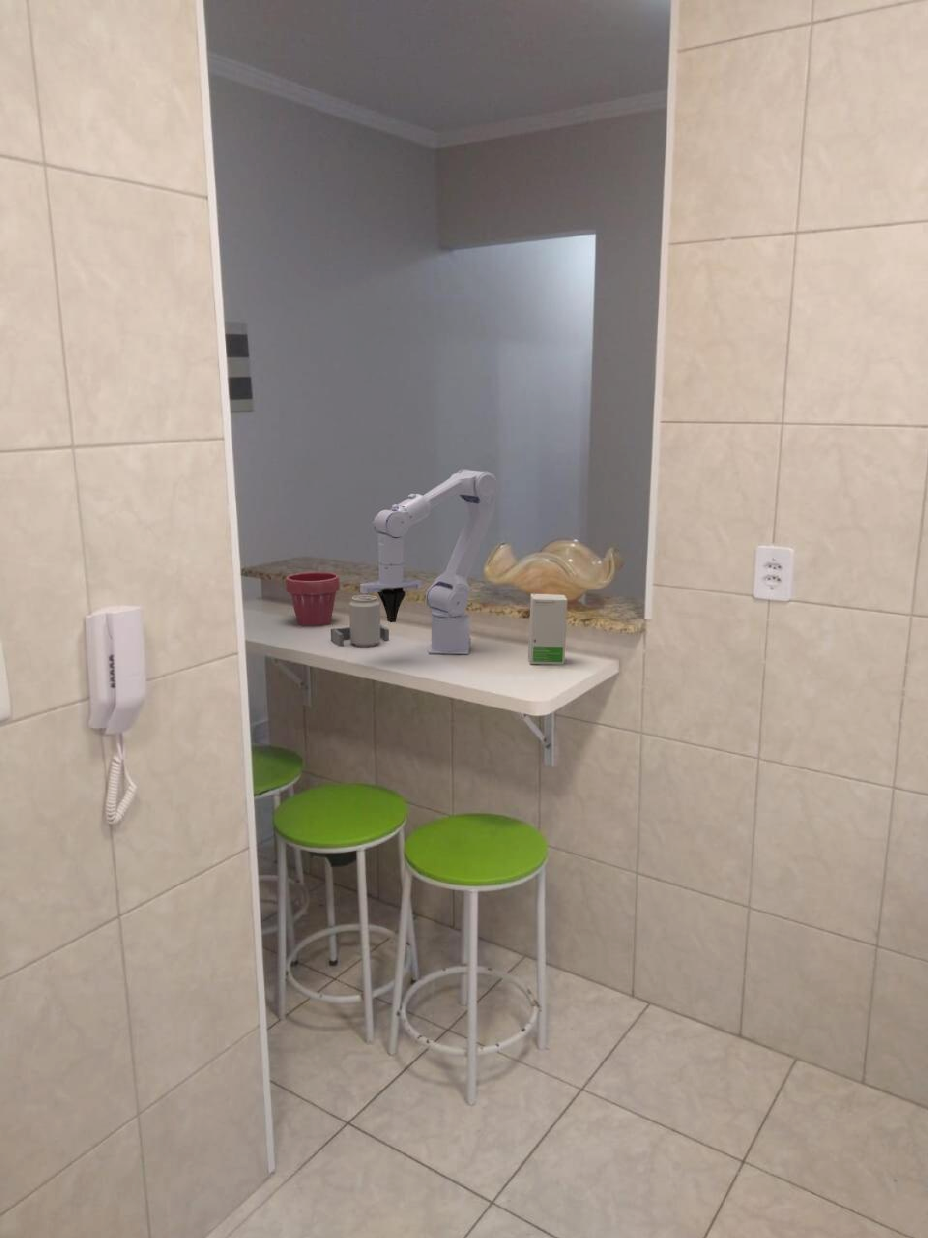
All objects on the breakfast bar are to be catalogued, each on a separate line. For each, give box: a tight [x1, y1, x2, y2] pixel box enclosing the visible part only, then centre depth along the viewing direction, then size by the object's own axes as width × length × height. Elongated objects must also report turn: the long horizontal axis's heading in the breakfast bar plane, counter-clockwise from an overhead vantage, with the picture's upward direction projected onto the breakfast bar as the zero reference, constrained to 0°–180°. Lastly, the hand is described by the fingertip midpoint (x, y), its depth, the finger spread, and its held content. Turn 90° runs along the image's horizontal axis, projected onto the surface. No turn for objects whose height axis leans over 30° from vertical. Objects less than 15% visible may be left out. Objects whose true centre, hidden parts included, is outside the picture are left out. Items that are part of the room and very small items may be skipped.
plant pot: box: [285, 571, 340, 627], centre depth 256 cm, size 14×14×13 cm
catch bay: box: [330, 624, 390, 647], centre depth 238 cm, size 6×13×3 cm, turn 117°
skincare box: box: [527, 593, 569, 666], centre depth 220 cm, size 8×7×16 cm
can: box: [348, 594, 381, 648], centre depth 234 cm, size 8×8×12 cm
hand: (391, 621), depth 219 cm, fingers closed
